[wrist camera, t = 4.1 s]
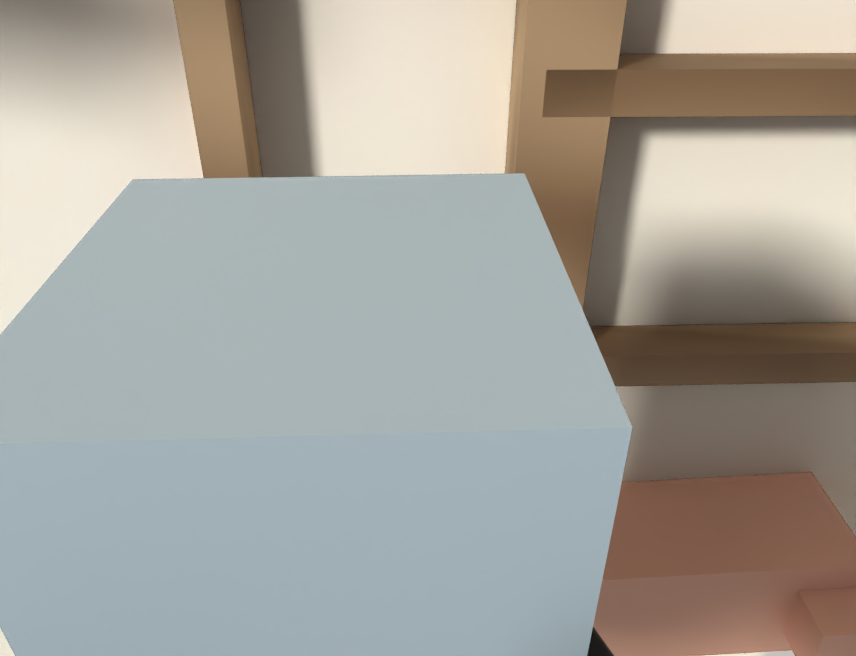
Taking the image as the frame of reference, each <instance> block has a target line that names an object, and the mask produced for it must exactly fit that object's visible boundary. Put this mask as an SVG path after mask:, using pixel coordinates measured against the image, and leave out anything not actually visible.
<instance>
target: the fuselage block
mask: <svg viewBox="0 0 856 656" xmlns="http://www.w3.org/2000/svg"><path fill="white" fill-rule="evenodd" d="M593 627H594V628H595V629H596V631H597V632H598V634H599V635H600V636H601V638H602V639H603V641H604V642H605V643H606V645H607V646H608V648H609V649H610V650H611V652H612V653H613V655H614V656H700V655H717V654H735V653H752V652H769V651H787V650H792V651H793V653H794V655H795V656H856V536H855V535H854V533H853V532H852V530H851V529H850V527H849V526H848V524H847V523H846V522H845V520H844V519H843V517H842V516H841V514H840V513H839V511H838V510H837V509H836V507H835V506H834V504H833V503H832V501H831V500H830V498H829V497H828V496H827V494H826V493H825V491H824V490H823V488H822V487H821V485H820V484H819V483H818V481H817V480H816V478H815V477H814V475H813V474H812V472H801V473H783V474H765V475H747V476H728V477H710V478H692V479H674V480H656V481H638V482H622V483H621V488H620V493H619V498H618V503H617V508H616V513H615V519H614V524H613V529H612V534H611V539H610V544H609V549H608V554H607V559H606V564H605V569H604V574H603V579H602V584H601V589H600V594H599V599H598V604H597V609H596V614H595V619H594V624H593Z"/></svg>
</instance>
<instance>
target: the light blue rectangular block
mask: <svg viewBox="0 0 856 656" xmlns="http://www.w3.org/2000/svg"><path fill="white" fill-rule="evenodd" d="M632 428H633V427H632V425H631V422H630V420H629V418H628V415H627V413H626V411H625V408H624V406H623V404H622V401H621V399H620V397H619V394H618V392H617V390H616V387H615V385H614V382H613V380H612V378H611V375H610V373H609V371H608V368H607V366H606V364H605V361H604V359H603V357H602V354H601V352H600V350H599V347H598V345H597V342H596V340H595V338H594V335H593V333H592V331H591V328H590V326H589V324H588V321H587V319H586V317H585V314H584V312H583V310H582V307H581V305H580V302H579V300H578V298H577V295H576V293H575V291H574V288H573V286H572V284H571V281H570V279H569V277H568V274H567V272H566V270H565V267H564V265H563V262H562V260H561V258H560V255H559V253H558V251H557V248H556V246H555V244H554V241H553V239H552V237H551V234H550V232H549V230H548V227H547V225H546V223H545V220H544V218H543V215H542V213H541V211H540V208H539V206H538V204H537V201H536V199H535V197H534V194H533V192H532V190H531V187H530V185H529V183H528V180H527V178H526V175H525V173H517V174H452V175H388V176H324V177H260V178H195V179H133V180H132V181H131V182H130V183H129V185H128V186H127V187H126V188H125V189H124V190H123V192H122V193H121V194H120V195H119V196H118V197H117V199H116V200H115V201H114V202H113V203H112V204H111V206H110V207H109V208H108V209H107V210H106V212H105V213H104V214H103V215H102V216H101V217H100V219H99V220H98V221H97V222H96V223H95V224H94V226H93V227H92V228H91V229H90V230H89V231H88V233H87V234H86V235H85V236H84V237H83V238H82V240H81V241H80V242H79V243H78V244H77V246H76V247H75V248H74V249H73V250H72V251H71V253H70V254H69V255H68V256H67V257H66V258H65V260H64V261H63V262H62V263H61V264H60V265H59V267H58V268H57V269H56V270H55V271H54V273H53V274H52V275H51V276H50V277H49V278H48V280H47V281H46V282H45V283H44V284H43V285H42V287H41V288H40V289H39V290H38V291H37V292H36V294H35V295H34V296H33V297H32V298H31V300H30V301H29V302H28V303H27V304H26V305H25V307H24V308H23V309H22V310H21V311H20V312H19V314H18V315H17V316H16V317H15V318H14V319H13V321H12V322H11V323H10V324H9V325H8V326H7V328H6V329H5V330H4V331H3V332H2V334H1V335H0V628H1V630H2V632H3V633H4V635H5V637H6V639H7V641H8V643H9V645H10V647H11V649H12V650H13V652H14V654H15V656H587V654H588V649H589V644H590V639H591V634H592V629H593V624H594V619H595V614H596V609H597V604H598V599H599V594H600V589H601V584H602V579H603V574H604V569H605V564H606V559H607V554H608V549H609V544H610V539H611V534H612V529H613V524H614V519H615V513H616V508H617V503H618V498H619V493H620V488H621V483H622V478H623V473H624V468H625V463H626V458H627V453H628V448H629V443H630V438H631V433H632Z"/></svg>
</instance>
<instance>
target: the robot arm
mask: <svg viewBox="0 0 856 656" xmlns="http://www.w3.org/2000/svg"><path fill="white" fill-rule="evenodd" d="M587 656H614V655H613V653H612V652H611V650H610V649H609V648H608V646H607V645H606V643H605V642H604V641H603V639H602V638H601V636H600V635H599V634H598V632H597V631H596V629H595V628H594V627H593V629H592V634H591V639H590V644H589V649H588V654H587Z"/></svg>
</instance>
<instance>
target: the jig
mask: <svg viewBox="0 0 856 656" xmlns="http://www.w3.org/2000/svg"><path fill="white" fill-rule="evenodd" d="M173 2H174V8H175V14H176V20H177V25H178V31H179V37H180V43H181V49H182V54H183V60H184V66H185V72H186V78H187V84H188V89H189V95H190V101H191V107H192V113H193V118H194V124H195V130H196V136H197V142H198V148H199V153H200V159H201V165H202V171H203V177H204V178H260V177H262V171H261V163H260V155H259V147H258V139H257V131H256V123H255V115H254V107H253V99H252V91H251V83H250V75H249V67H248V59H247V51H246V43H245V35H244V27H243V19H242V12H241V4H240V0H173ZM626 5H627V0H517V1H516V16H515V31H514V46H513V61H512V76H511V91H510V107H509V122H508V137H507V152H506V167H505V174H517V173H525V175H526V178H527V180H528V183H529V185H530V187H531V190H532V192H533V194H534V197H535V199H536V201H537V204H538V206H539V208H540V211H541V213H542V215H543V218H544V220H545V223H546V225H547V227H548V230H549V232H550V234H551V237H552V239H553V241H554V244H555V246H556V248H557V251H558V253H559V255H560V258H561V260H562V262H563V265H564V267H565V270H566V272H567V274H568V277H569V279H570V281H571V284H572V286H573V288H574V291H575V293H576V295H577V298H578V300H579V302H580V305H581V307H582V310H583V305H584V298H585V291H586V284H587V277H588V270H589V263H590V256H591V249H592V242H593V235H594V228H595V221H596V214H597V207H598V200H599V193H600V186H601V180H602V173H603V166H604V159H605V152H606V145H607V138H608V131H609V124H610V117H697V116H856V53H796V54H620V47H621V40H622V33H623V26H624V19H625V12H626ZM590 328H591V331H592V333H593V335H594V338H595V340H596V342H597V345H598V347H599V350H600V352H601V354H602V357H603V359H604V361H605V364H606V366H607V368H608V371H609V373H610V375H611V378H612V380H613V382H614V385H615V386H659V385H712V384H764V383H817V382H856V322H844V323H782V324H719V325H657V326H594V327H590Z"/></svg>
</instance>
